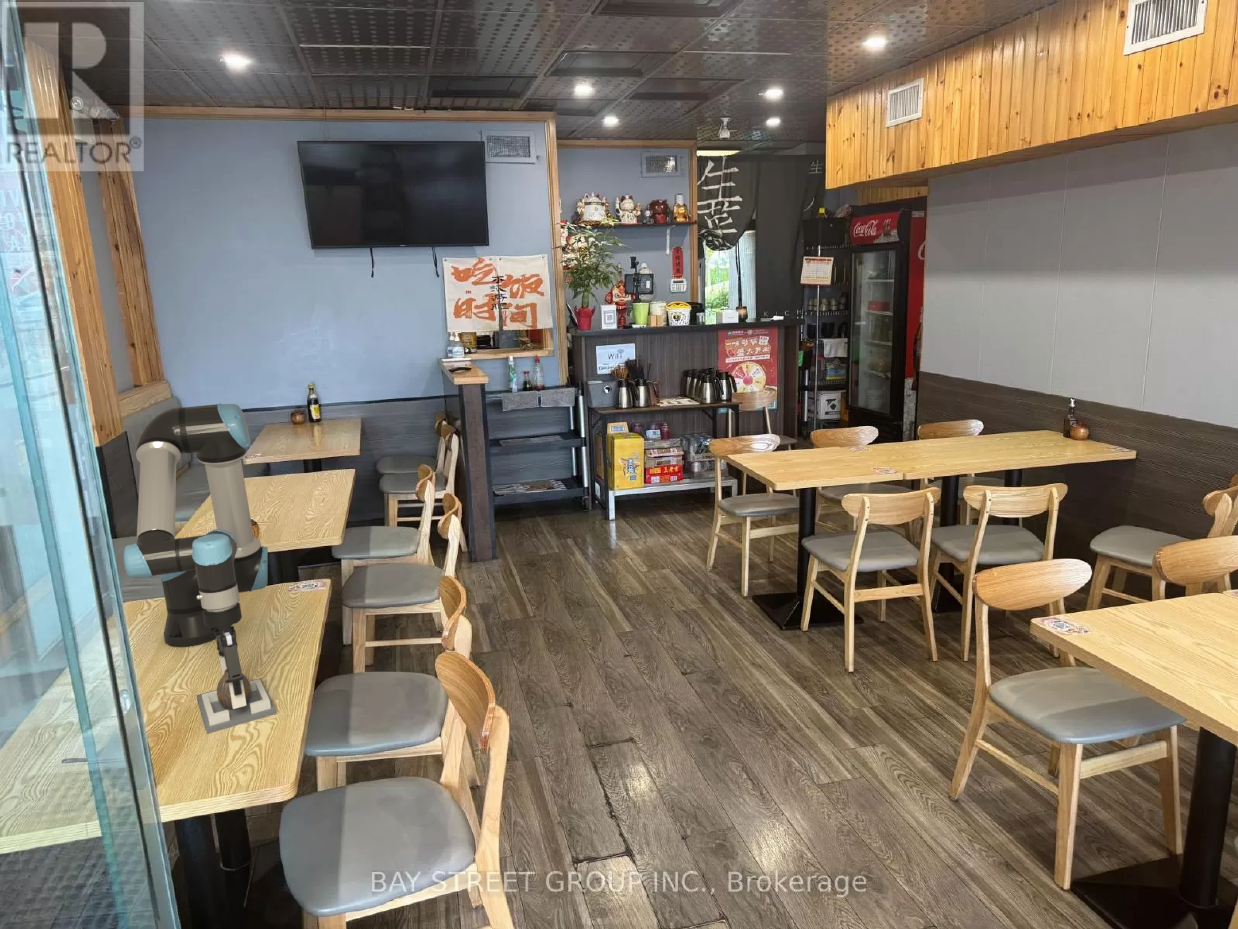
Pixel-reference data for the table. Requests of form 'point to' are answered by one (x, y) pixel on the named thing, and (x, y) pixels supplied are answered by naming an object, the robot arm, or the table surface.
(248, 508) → the robot arm
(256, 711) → the board
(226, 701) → the vase
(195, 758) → the table surface
